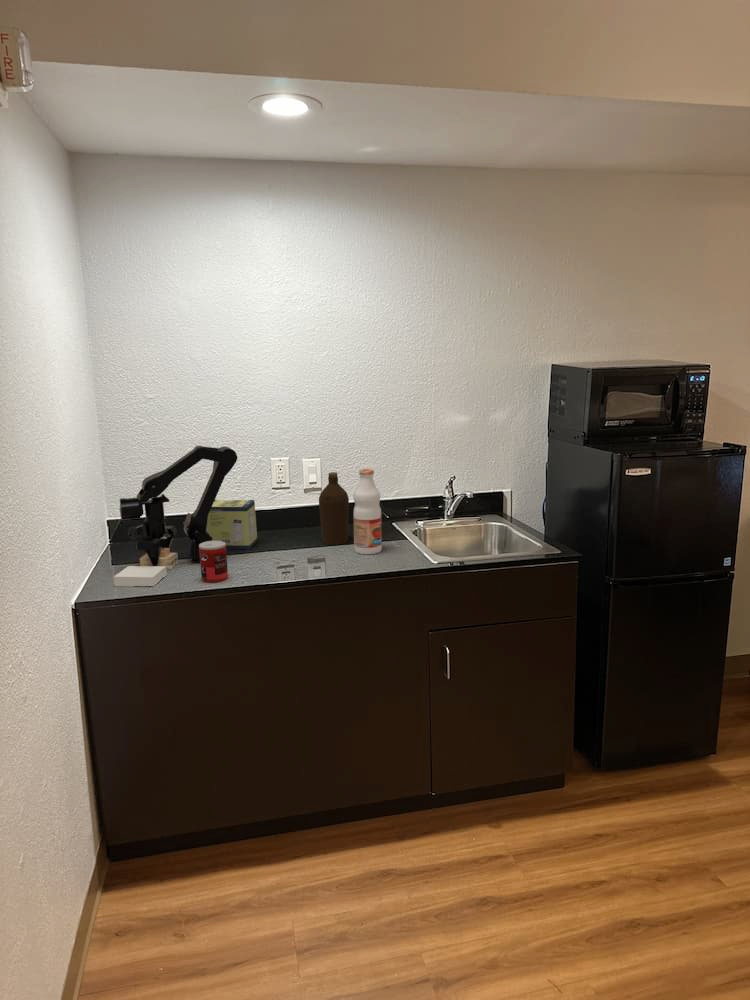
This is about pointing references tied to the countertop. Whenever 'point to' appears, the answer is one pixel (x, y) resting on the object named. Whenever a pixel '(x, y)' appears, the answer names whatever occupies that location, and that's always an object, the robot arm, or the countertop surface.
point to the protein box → (233, 523)
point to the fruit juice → (367, 515)
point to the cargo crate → (163, 552)
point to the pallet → (161, 561)
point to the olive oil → (334, 512)
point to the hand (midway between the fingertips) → (159, 563)
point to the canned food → (213, 561)
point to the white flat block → (140, 576)
